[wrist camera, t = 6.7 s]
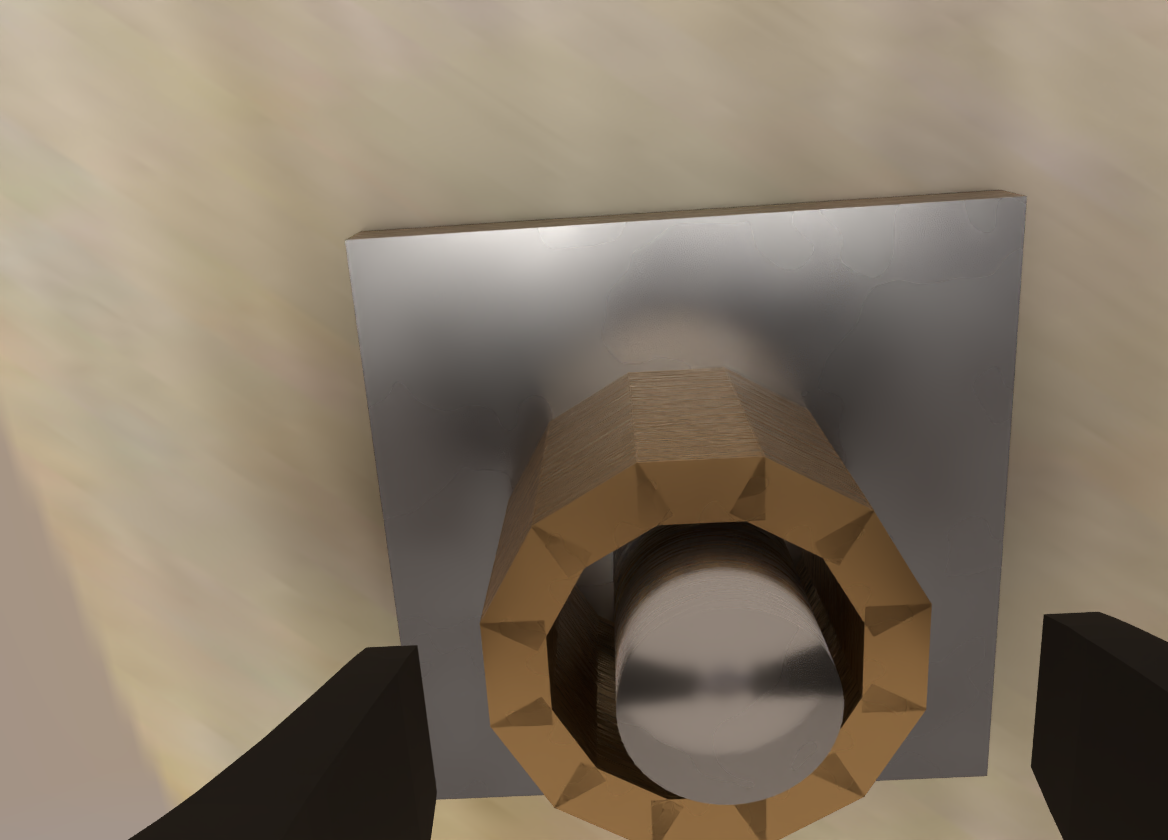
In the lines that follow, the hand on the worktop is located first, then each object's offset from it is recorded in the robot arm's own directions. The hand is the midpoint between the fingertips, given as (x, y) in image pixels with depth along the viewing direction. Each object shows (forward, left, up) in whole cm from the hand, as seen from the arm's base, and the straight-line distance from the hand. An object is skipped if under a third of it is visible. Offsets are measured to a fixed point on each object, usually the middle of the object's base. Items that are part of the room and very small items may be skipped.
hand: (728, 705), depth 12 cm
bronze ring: (0, 0, -5) cm, 5 cm away
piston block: (0, 0, -6) cm, 6 cm away
